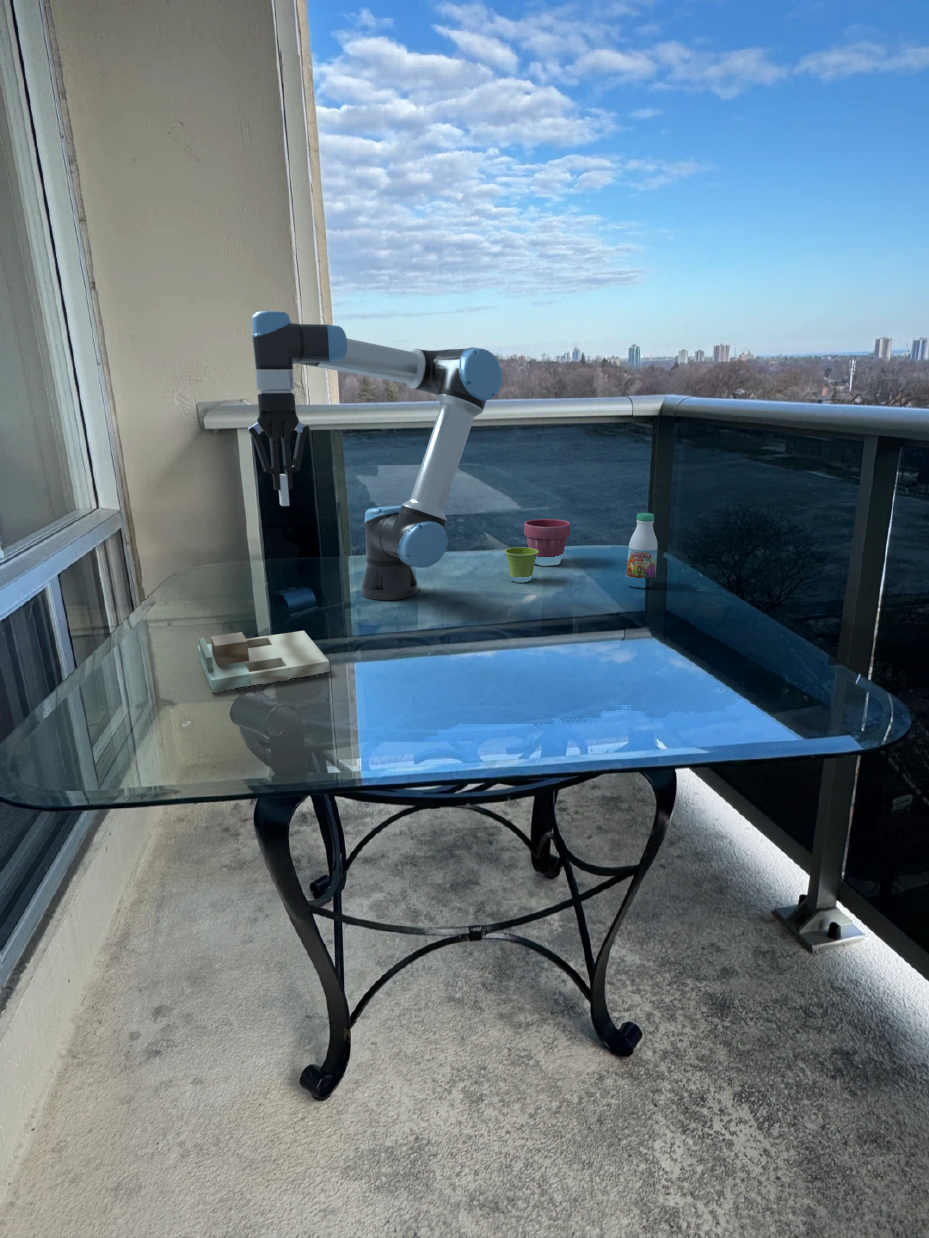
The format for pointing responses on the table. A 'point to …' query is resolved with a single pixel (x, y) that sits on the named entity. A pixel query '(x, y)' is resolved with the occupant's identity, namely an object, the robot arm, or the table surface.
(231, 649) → the block
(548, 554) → the plant pot
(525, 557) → the plant pot
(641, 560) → the milk bottle
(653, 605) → the table surface
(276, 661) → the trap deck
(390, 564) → the robot arm
